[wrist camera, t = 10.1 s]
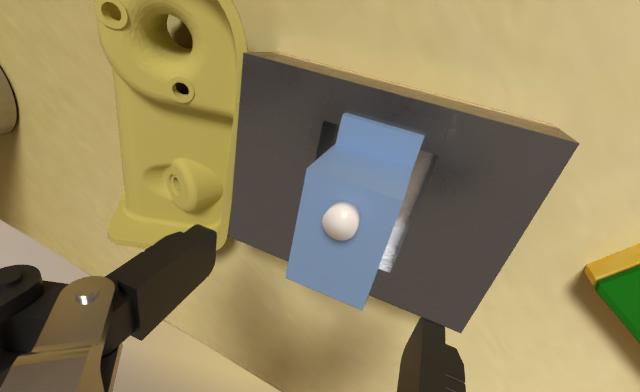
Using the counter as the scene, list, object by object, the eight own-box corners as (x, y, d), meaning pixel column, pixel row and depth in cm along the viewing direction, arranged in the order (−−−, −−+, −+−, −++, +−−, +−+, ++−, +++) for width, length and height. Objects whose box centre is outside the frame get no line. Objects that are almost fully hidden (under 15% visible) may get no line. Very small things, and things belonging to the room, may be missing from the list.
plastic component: (224, 258, 26) (87, 241, 24) (237, 203, 32) (128, 185, 30) (264, -28, 15) (18, -106, 13) (272, -31, 21) (104, -85, 19)
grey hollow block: (257, 211, 26) (228, 236, 22) (278, 51, 20) (243, 52, 17) (458, 289, 22) (460, 333, 19) (552, 124, 17) (579, 143, 13)
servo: (327, 229, 23) (274, 310, 16) (359, 103, 19) (305, 137, 11) (381, 249, 22) (350, 344, 15) (427, 123, 18) (415, 172, 11)
